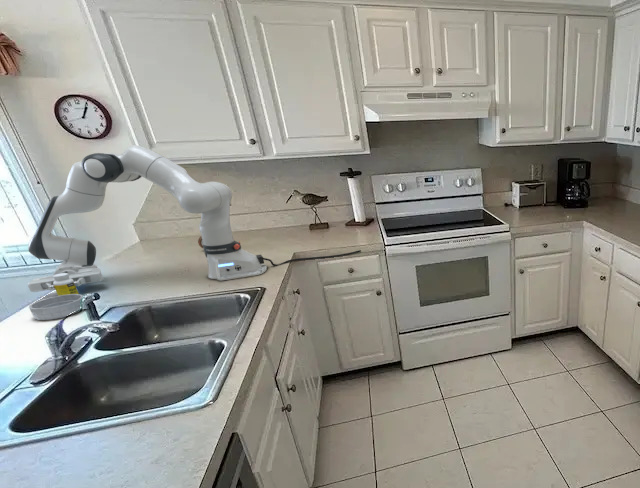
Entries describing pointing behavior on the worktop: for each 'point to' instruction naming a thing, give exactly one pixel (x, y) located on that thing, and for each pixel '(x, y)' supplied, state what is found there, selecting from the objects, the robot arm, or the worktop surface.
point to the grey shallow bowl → (55, 307)
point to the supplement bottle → (64, 284)
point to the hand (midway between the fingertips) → (64, 286)
